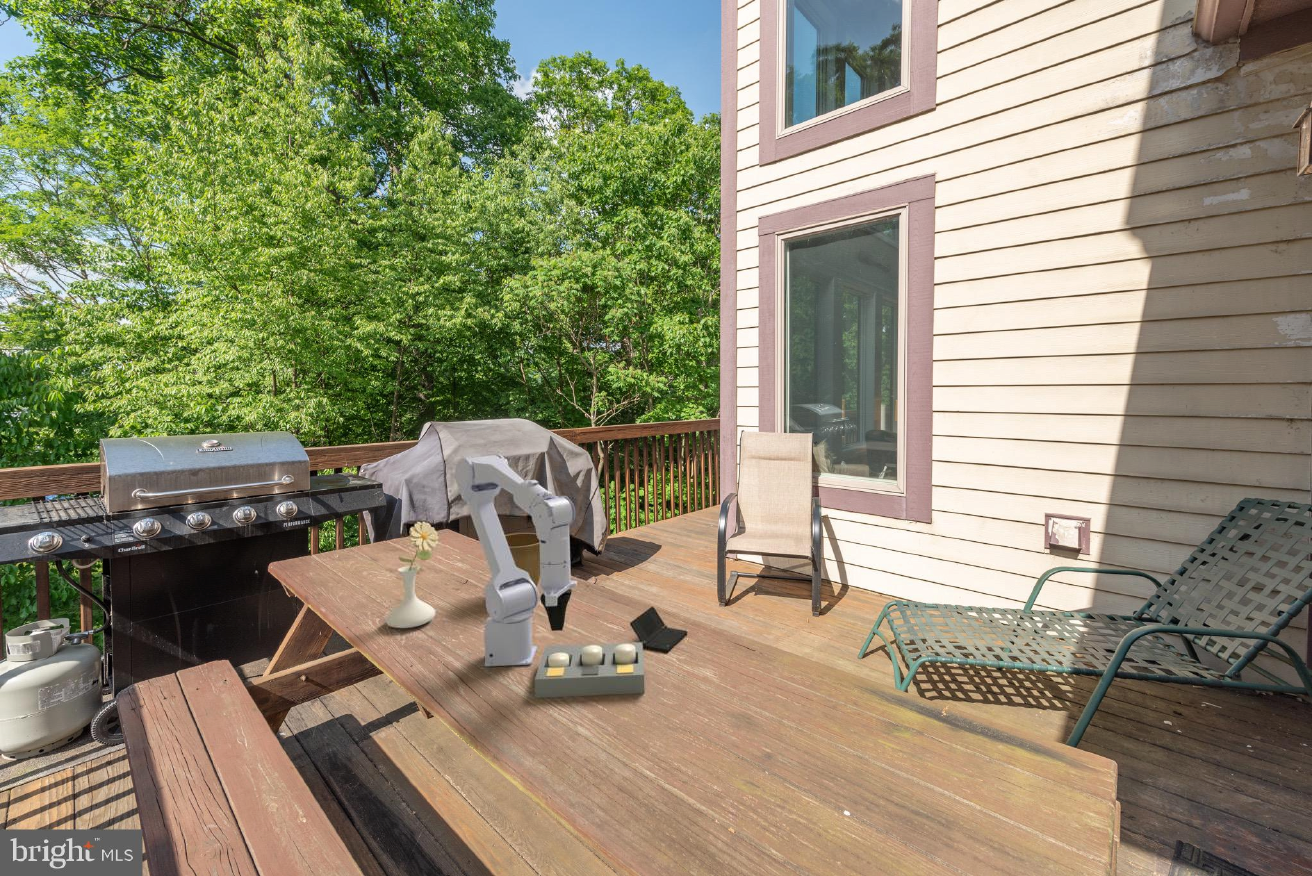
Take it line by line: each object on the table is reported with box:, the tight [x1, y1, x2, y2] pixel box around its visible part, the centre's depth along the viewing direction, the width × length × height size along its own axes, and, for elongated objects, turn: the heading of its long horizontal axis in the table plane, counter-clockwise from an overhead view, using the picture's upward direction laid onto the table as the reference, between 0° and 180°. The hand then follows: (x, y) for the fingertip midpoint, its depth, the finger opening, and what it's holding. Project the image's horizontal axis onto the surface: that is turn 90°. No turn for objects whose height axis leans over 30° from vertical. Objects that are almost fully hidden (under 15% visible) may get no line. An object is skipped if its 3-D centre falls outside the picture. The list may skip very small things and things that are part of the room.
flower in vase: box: [385, 521, 439, 629], centre depth 140 cm, size 13×11×25 cm
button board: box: [534, 641, 646, 699], centre depth 111 cm, size 20×14×4 cm
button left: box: [548, 653, 569, 667], centre depth 111 cm, size 4×4×3 cm
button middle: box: [581, 645, 602, 666], centre depth 111 cm, size 4×4×3 cm
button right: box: [615, 644, 636, 665], centre depth 111 cm, size 4×4×3 cm
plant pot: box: [504, 532, 541, 588], centre depth 159 cm, size 15×15×16 cm
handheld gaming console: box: [629, 606, 688, 654], centre depth 128 cm, size 12×7×10 cm
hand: (557, 629), depth 110 cm, fingers closed
